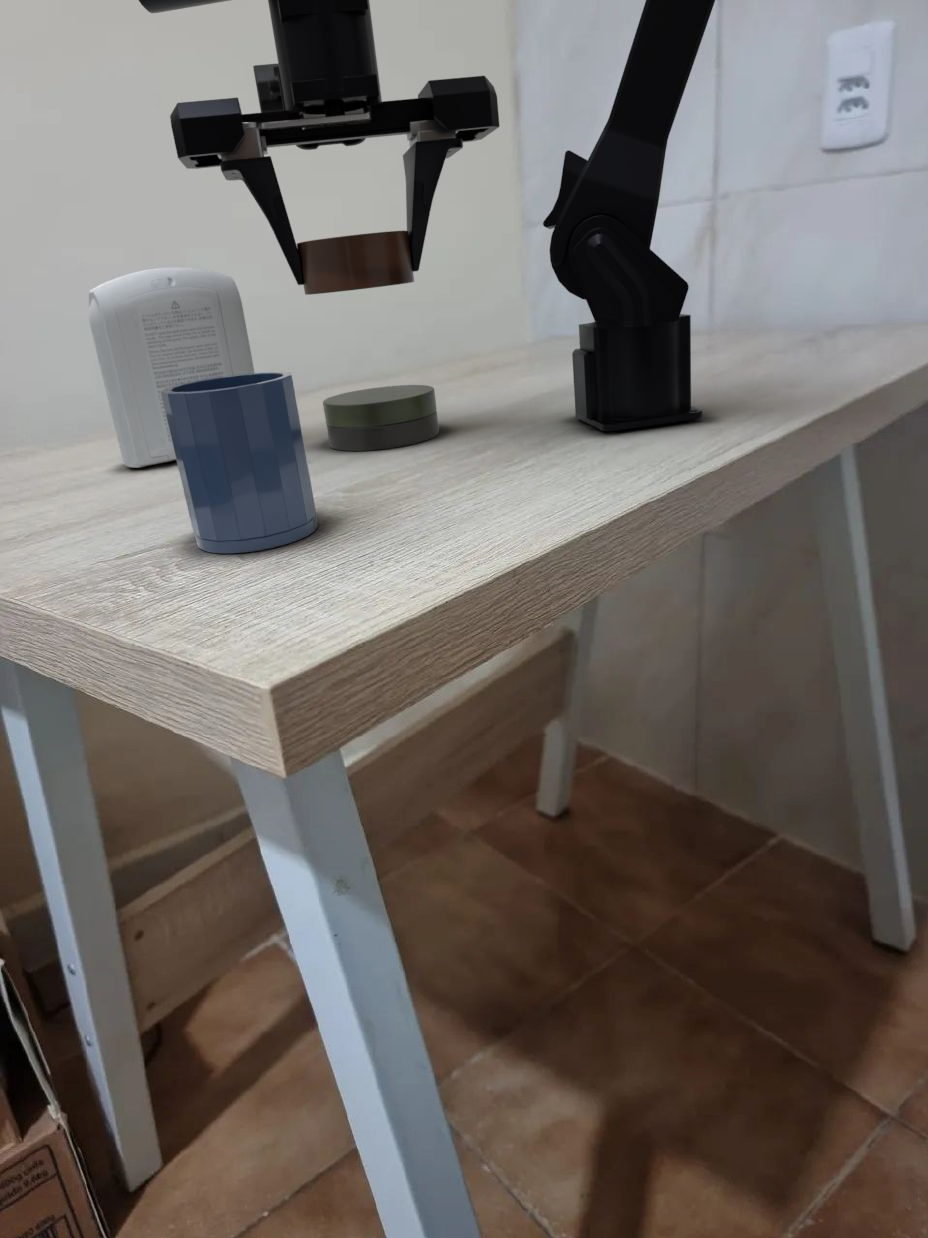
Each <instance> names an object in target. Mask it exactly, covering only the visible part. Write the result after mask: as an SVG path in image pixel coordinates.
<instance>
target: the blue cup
mask: <svg viewBox="0 0 928 1238" xmlns="http://www.w3.org/2000/svg"><path fill="white" fill-rule="evenodd" d="M161 395H162V400H163V404H164V408H165V412H166V417H167V421H168V425H169V430H170V434H171V438H172V442H173V447H174V451H175V455H176V460H175V461H176V464H177V468H178V472H179V477H180V480H181V486H182V489H183V494H184V498H185V502H186V507H187V510H188V515H189V519H190V524H191V528H192V533H193V534H194V536H195V541H196V545H197V547H198V548H199V549H200V550H202V551H205V552H208V553H213V554H214V553H215V554H243V553H252V552H259V551H264V550H270V549H274V548H279V547H281V546H282V547H283V546H285V545H288V544H292V543H294V542H297V541H299V540H302V539H304V538H306V537H308V536H309V535H311V534H312V533H314V532H315V531H316V530H317V528H318V526H319V523H318V516H317V512H316V511H317V510H316V505H315V499H314V492H313V488H312V487H313V486H312V481H311V475H310V470H309V464H308V459H307V453H306V447H305V441H304V436H303V431H302V424H301V419H300V414H299V413H300V412H299V409H298V408H299V407H298V402H297V401H298V400H297V396H296V390H295V385H294V378H293V374H292V372H288V371H259V372H254V373H248V374H239V375H231V376H223V377H216V378H210V379H204V380H198V381H193V382H188V383H184V384H179V385H175V386H172V387H169V388H166V389H164V390H163V391H162V392H161Z"/></svg>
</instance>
